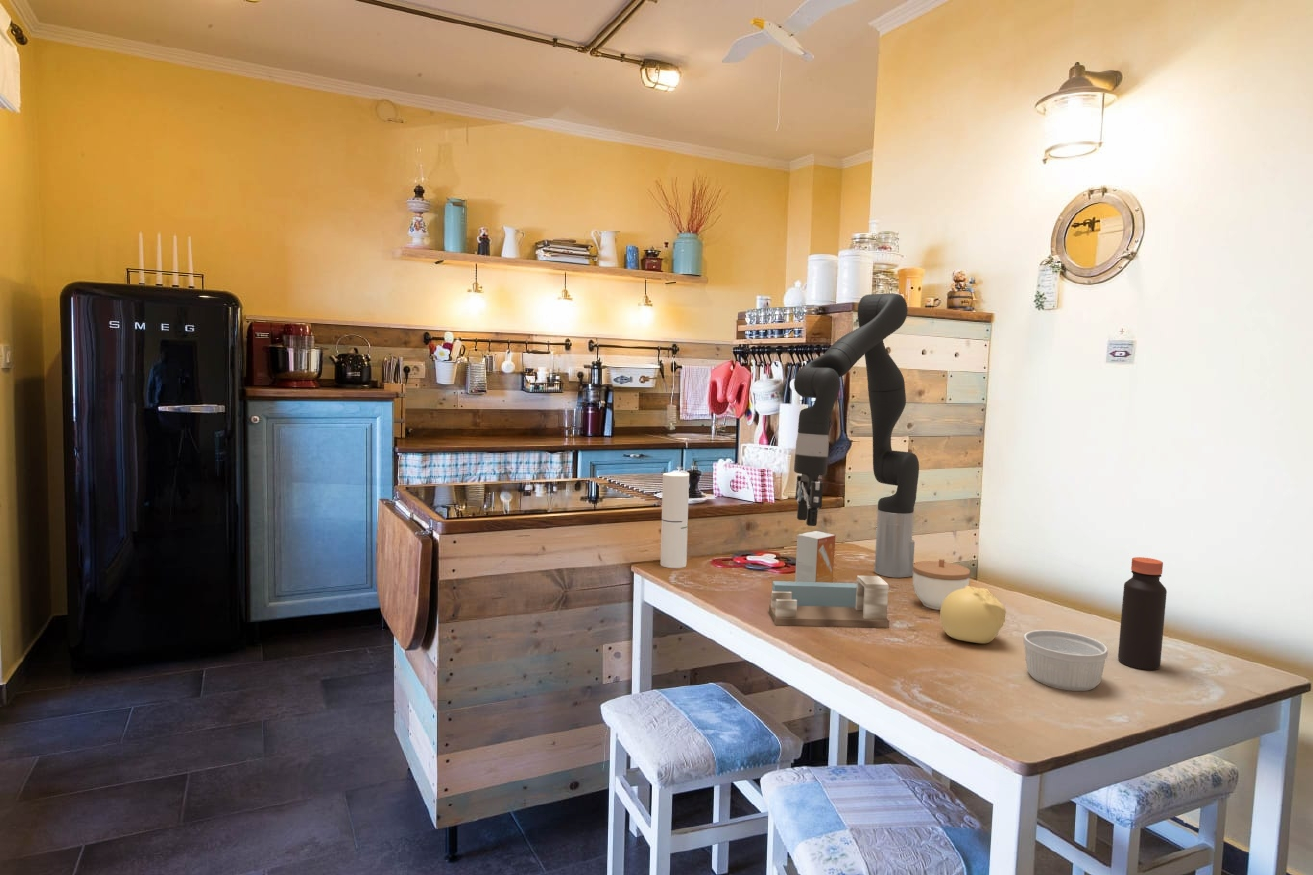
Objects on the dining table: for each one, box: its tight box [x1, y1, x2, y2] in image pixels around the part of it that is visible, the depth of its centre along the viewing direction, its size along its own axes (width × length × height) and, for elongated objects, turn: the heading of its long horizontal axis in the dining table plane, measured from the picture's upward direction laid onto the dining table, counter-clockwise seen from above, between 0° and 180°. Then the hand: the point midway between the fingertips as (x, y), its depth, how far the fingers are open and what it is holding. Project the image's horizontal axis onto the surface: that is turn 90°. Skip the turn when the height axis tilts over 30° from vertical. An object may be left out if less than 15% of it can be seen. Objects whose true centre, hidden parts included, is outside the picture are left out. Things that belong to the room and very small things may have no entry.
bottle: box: [1117, 556, 1168, 671], centre depth 143 cm, size 7×7×20 cm
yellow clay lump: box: [939, 585, 1007, 644], centre depth 155 cm, size 11×12×11 cm
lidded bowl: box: [912, 558, 971, 611], centre depth 177 cm, size 13×13×11 cm
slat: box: [771, 580, 857, 607], centre depth 176 cm, size 20×4×5 cm, turn 89°
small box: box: [794, 530, 836, 583], centre depth 192 cm, size 8×6×13 cm
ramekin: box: [1022, 629, 1109, 692], centre depth 136 cm, size 13×13×7 cm
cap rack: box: [768, 575, 890, 629], centre depth 165 cm, size 24×9×9 cm, turn 91°
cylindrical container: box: [660, 472, 690, 569], centre depth 208 cm, size 7×7×25 cm
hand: (806, 522), depth 178 cm, fingers open, 8 cm apart
